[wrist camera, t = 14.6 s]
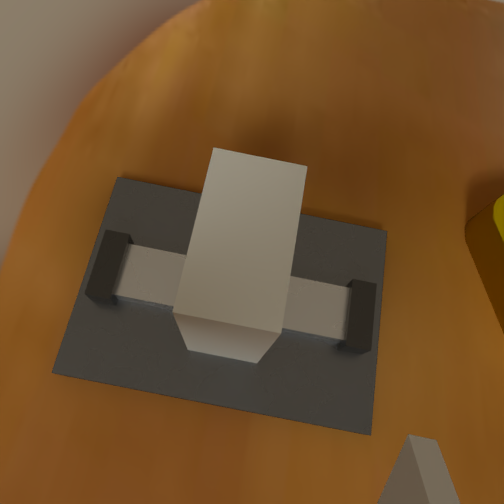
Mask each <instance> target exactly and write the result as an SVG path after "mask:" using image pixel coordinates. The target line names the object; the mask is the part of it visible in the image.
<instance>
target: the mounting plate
mask: <svg viewBox="0 0 504 504" xmlns="http://www.w3.org/2000/svg"><path fill="white" fill-rule="evenodd" d="M201 196H202V194H200V193H195V192H190V191H185V190H180V189H175V188H170V187H165V186H160V185H155V184H150V183H146V182H141V181H136V180H131V179H126V178H121V177H117V180H116V183H115V186H114V189H113V192H112V195H111V198H110V201H109V204H108V207H107V210H106V212H105V215H104V218H103V221H102V224H101V227H100V230H99V233H98V236H97V239H96V242H95V245H94V248H93V251H92V254H91V257H90V260H89V263H88V266H87V269H86V272H85V275H84V278H83V281H82V284H81V287H80V290H79V293H78V296H77V299H76V302H75V305H74V308H73V311H72V314H71V317H70V320H69V323H68V326H67V329H66V332H65V334H64V337H63V340H62V343H61V346H60V349H59V352H58V355H57V358H56V361H55V364H54V367H53V370H52V373H55V374H59V375H64V376H69V377H74V378H79V379H84V380H89V381H95V382H100V383H105V384H110V385H115V386H120V387H125V388H130V389H135V390H140V391H146V392H151V393H156V394H161V395H166V396H171V397H176V398H181V399H186V400H191V401H196V402H202V403H207V404H212V405H217V406H222V407H227V408H232V409H237V410H242V411H247V412H252V413H258V414H263V415H268V416H273V417H278V418H283V419H288V420H293V421H298V422H303V423H309V424H314V425H319V426H324V427H329V428H334V429H339V430H344V431H349V432H354V433H359V434H365V435H371V427H372V415H373V402H374V390H375V377H376V364H377V352H378V339H379V326H380V314H381V301H382V288H383V276H384V263H385V251H386V238H387V231H384V230H379V229H374V228H369V227H364V226H359V225H354V224H349V223H344V222H339V221H334V220H329V219H324V218H319V217H314V216H310V215H305V214H300V217H299V224H298V230H297V236H296V243H295V249H294V255H293V262H292V268H291V274H290V281H289V287H288V294H287V300H286V306H285V313H284V319H283V325H282V332H281V334H280V336H279V337H278V338H277V339H276V341H275V342H274V343H273V344H272V345H271V347H270V348H269V349H268V350H267V352H266V353H265V354H264V355H263V357H262V358H261V359H260V360H259V361H258V363H253V362H247V361H242V360H237V359H232V358H227V357H222V356H217V355H212V354H206V353H201V352H196V351H191V350H188V349H187V347H186V344H185V342H184V339H183V337H182V335H181V332H180V330H179V327H178V325H177V322H176V320H175V317H174V315H173V313H172V311H173V307H174V303H175V299H176V295H177V291H178V287H179V283H180V279H181V275H182V271H183V267H184V263H185V259H186V255H187V251H188V247H189V244H190V240H191V236H192V232H193V228H194V224H195V220H196V216H197V212H198V208H199V204H200V200H201Z"/></svg>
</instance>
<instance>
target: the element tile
mask: <svg viewBox="0 0 504 504" xmlns="http://www.w3.org/2000/svg"><path fill="white" fill-rule="evenodd" d="M465 240H466V244H467V246H468V248H469V251H470V253H471V256H472V258H473V260H474V263H475V265H476V268H477V270H478V273H479V275H480V277H481V280H482V282H483V285H484V287H485V290H486V292H487V294H488V297H489V299H490V302H491V304H492V306H493V309H494V311H495V314H496V316H497V319H498V321H499V323H500V326H501V328H502V331H503V333H504V194H503V195H501V196H500V197H499V198H497V199H496V200H495V201H494V202H492V203H491V204H490V205H488V206H487V207H486V208H484V209H483V210H482V211H480V212H479V213H478V214H477V215H475V216H474V217H473V218H471V219H470V220H469V221H468V223H467V225H466V227H465Z"/></svg>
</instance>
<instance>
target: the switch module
mask: <svg viewBox="0 0 504 504" xmlns="http://www.w3.org/2000/svg"><path fill="white" fill-rule="evenodd" d="M306 173H307V166H304V165H299V164H294V163H289V162H284V161H279V160H274V159H269V158H264V157H259V156H254V155H249V154H244V153H239V152H234V151H229V150H224V149H219V148H213V152H212V156H211V160H210V164H209V168H208V172H207V176H206V180H205V184H204V188H203V192H202V196H201V200H200V204H199V208H198V212H197V216H196V220H195V224H194V228H193V232H192V236H191V240H190V244H189V247H188V251H187V255H186V259H185V263H184V267H183V271H182V275H181V279H180V283H179V287H178V291H177V295H176V299H175V303H174V307H173V311H172V313H173V315H174V317H175V320H176V322H177V325H178V327H179V330H180V332H181V335H182V337H183V339H184V342H185V344H186V347H187V349H188V350H191V351H196V352H201V353H206V354H212V355H217V356H222V357H227V358H232V359H237V360H242V361H247V362H253V363H258V361H259V360H260V359H261V358H262V357H263V355H264V354H265V353H266V352H267V350H268V349H269V348H270V347H271V345H272V344H273V343H274V342H275V341H276V339H277V338H278V337H279V336H280V334H281V332H282V325H283V319H284V313H285V306H286V300H287V294H288V287H289V281H290V274H291V268H292V262H293V255H294V249H295V243H296V236H297V230H298V224H299V217H300V211H301V204H302V198H303V192H304V185H305V179H306Z"/></svg>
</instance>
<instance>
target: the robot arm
mask: <svg viewBox="0 0 504 504" xmlns="http://www.w3.org/2000/svg"><path fill="white" fill-rule="evenodd" d="M378 504H460V502H459V499H458V496H457V494H456V491H455V488H454V486H453V483H452V480H451V478H450V475H449V472H448V470H447V467H446V464H445V462H444V459H443V456H442V454H441V451H440V448H439V446H438V443H437V440H433V439H428V438H424V437H419V436H414V435H410V434H408V436H407V438H406V441H405V443H404V445H403V447H402V450H401V452H400V454H399V456H398V458H397V461H396V463H395V465H394V467H393V470H392V472H391V474H390V476H389V478H388V481H387V483H386V485H385V487H384V490H383V492H382V494H381V496H380V499H379V501H378Z"/></svg>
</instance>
